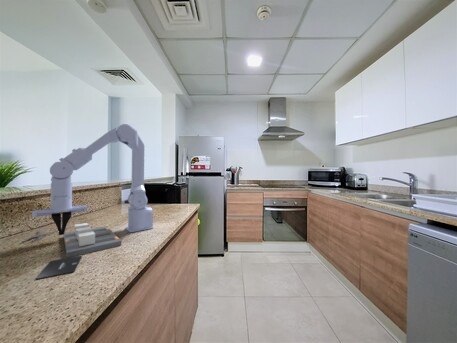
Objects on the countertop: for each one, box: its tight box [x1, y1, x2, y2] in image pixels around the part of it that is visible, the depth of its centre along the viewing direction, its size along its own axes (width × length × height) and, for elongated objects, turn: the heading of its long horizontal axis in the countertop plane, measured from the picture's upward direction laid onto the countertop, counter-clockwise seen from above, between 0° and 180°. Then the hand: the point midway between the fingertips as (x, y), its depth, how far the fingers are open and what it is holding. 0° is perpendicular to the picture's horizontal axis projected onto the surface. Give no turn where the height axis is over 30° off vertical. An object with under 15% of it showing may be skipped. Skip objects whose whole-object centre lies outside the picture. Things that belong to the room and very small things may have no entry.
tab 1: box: [73, 222, 90, 235], centre depth 72 cm, size 4×4×3 cm
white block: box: [78, 232, 95, 247], centre depth 62 cm, size 4×4×3 cm
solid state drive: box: [35, 255, 83, 281], centre depth 50 cm, size 7×10×1 cm
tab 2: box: [76, 226, 93, 240], centre depth 67 cm, size 4×4×3 cm
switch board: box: [63, 225, 122, 258], centre depth 68 cm, size 14×23×2 cm, turn 43°
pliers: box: [21, 225, 71, 244], centre depth 76 cm, size 10×1×20 cm
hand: (61, 234), depth 68 cm, fingers closed
